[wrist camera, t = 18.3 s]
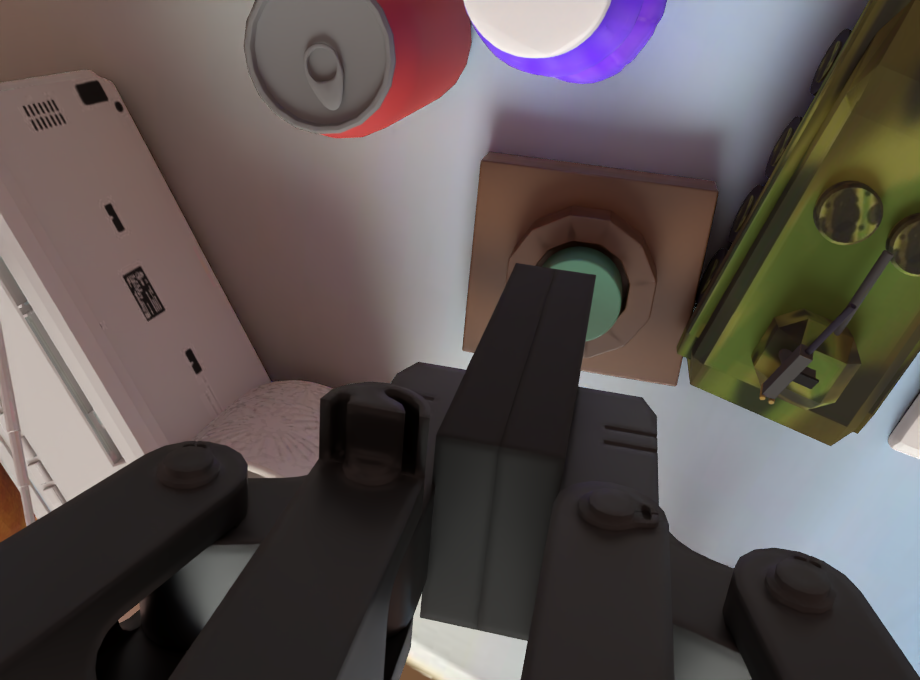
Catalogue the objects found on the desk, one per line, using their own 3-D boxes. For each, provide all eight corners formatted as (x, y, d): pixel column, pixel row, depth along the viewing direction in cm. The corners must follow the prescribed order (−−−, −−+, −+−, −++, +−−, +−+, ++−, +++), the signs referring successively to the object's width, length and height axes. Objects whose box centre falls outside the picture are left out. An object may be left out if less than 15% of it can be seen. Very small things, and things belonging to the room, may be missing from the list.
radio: (2, 109, 45) (-420, 192, 27) (118, 47, 43) (-266, 94, 25) (188, 432, 52) (-59, 673, 33) (299, 396, 49) (96, 637, 31)
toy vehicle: (665, 334, 43) (670, 427, 34) (885, -63, 34) (969, -80, 25) (834, 408, 43) (884, 522, 34) (1097, 26, 34) (1260, 41, 25)
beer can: (362, 118, 42) (262, 165, 31) (324, -21, 40) (203, -22, 29) (488, 89, 40) (428, 128, 29) (456, -58, 38) (380, -75, 27)
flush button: (542, 239, 39) (537, 253, 37) (629, 252, 38) (628, 266, 36) (532, 319, 40) (526, 335, 38) (615, 332, 40) (613, 349, 38)
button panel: (488, 151, 41) (473, 167, 38) (715, 180, 40) (722, 200, 36) (469, 335, 45) (454, 365, 42) (675, 369, 44) (677, 403, 40)
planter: (443, 523, 50) (394, 655, 40) (265, 551, 54) (180, 678, 44) (373, 337, 46) (299, 433, 36) (186, 381, 50) (73, 479, 40)
